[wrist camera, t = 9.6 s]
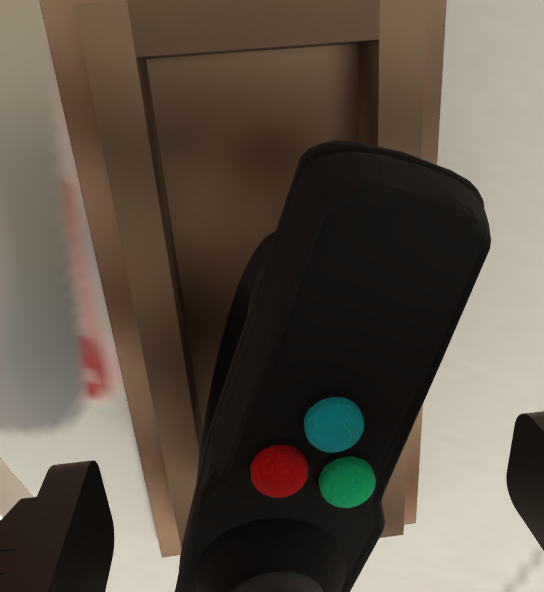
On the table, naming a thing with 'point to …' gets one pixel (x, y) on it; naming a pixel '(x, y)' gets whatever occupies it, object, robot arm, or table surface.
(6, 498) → the multiport hub
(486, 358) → the table surface
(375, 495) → the controller
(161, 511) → the cradle
